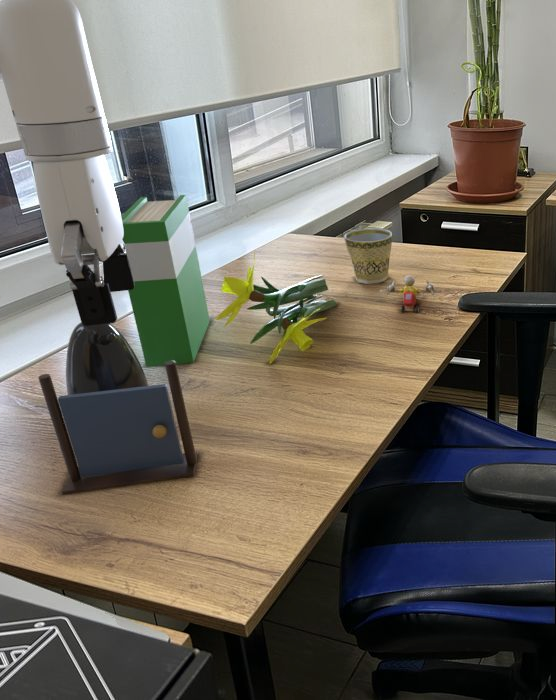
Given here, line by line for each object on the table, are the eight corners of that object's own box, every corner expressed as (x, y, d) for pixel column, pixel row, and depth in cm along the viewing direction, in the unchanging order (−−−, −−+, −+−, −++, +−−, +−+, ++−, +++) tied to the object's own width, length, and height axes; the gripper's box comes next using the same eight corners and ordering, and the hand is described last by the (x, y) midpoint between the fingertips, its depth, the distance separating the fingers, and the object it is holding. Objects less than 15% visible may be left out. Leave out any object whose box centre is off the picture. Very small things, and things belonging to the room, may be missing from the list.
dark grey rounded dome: (100, 445, 95) (71, 342, 88) (63, 421, 101) (33, 323, 94) (169, 413, 102) (146, 316, 95) (130, 393, 108) (107, 300, 101)
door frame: (63, 497, 85) (27, 387, 78) (74, 473, 89) (41, 367, 83) (196, 478, 88) (172, 371, 81) (200, 456, 92) (178, 353, 86)
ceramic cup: (376, 291, 145) (373, 244, 141) (338, 283, 150) (334, 237, 146) (411, 272, 156) (409, 228, 151) (375, 265, 160) (372, 222, 156)
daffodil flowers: (375, 311, 138) (318, 340, 104) (314, 348, 141) (239, 389, 106) (329, 236, 136) (255, 241, 102) (268, 275, 139) (177, 293, 105)
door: (78, 485, 85) (53, 405, 80) (83, 473, 87) (59, 395, 82) (181, 470, 87) (163, 393, 82) (183, 460, 89) (166, 383, 85)
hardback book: (168, 325, 131) (140, 197, 121) (210, 322, 132) (186, 194, 122) (146, 368, 115) (112, 224, 105) (194, 364, 116) (164, 221, 106)
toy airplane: (408, 318, 132) (406, 286, 129) (378, 306, 138) (376, 274, 135) (444, 305, 138) (443, 274, 135) (414, 293, 144) (413, 263, 141)
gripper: (49, 129, 74) (91, 282, 82) (-10, 158, 59) (48, 343, 66) (126, 125, 76) (160, 276, 83) (87, 151, 61) (133, 333, 68)
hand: (110, 305), depth 75 cm, fingers open, 9 cm apart
